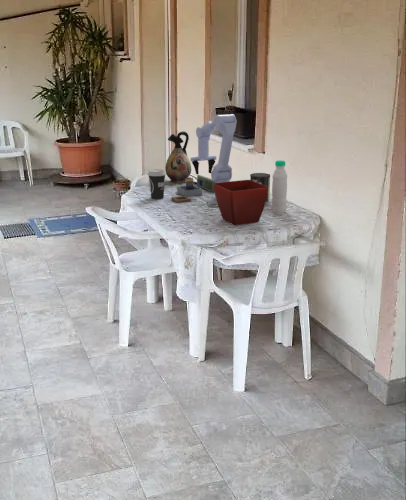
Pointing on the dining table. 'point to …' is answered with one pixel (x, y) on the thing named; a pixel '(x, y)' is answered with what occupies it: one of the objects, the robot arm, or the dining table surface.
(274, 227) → the dining table surface
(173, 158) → the ceramic jug
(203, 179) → the handheld radio
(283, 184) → the water bottle
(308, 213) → the dining table surface
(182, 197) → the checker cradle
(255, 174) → the coffee can
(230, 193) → the plant pot
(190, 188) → the battery cell
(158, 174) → the coffee cup
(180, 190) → the cell bin
